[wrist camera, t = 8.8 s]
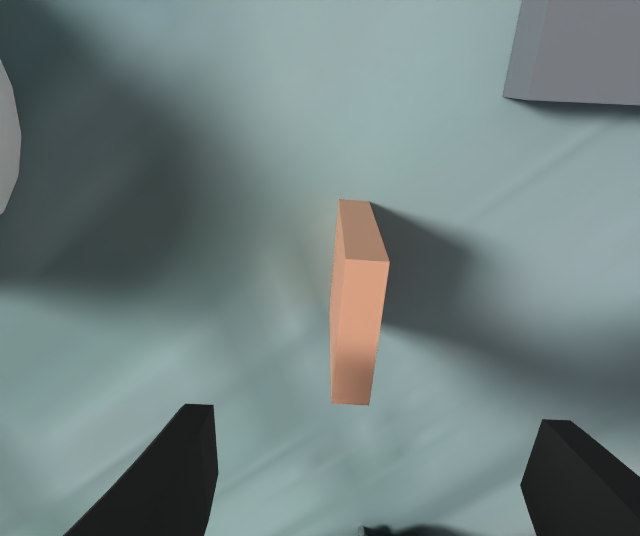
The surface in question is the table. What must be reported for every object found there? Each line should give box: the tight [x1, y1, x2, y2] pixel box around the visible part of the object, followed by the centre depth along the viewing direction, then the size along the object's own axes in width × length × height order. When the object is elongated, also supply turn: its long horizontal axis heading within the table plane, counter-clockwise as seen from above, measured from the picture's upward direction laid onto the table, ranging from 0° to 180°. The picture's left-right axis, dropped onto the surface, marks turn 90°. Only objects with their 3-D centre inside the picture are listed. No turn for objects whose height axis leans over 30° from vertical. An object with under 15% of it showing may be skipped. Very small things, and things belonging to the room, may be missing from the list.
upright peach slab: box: [330, 199, 390, 405], centre depth 15 cm, size 1×5×6 cm, turn 176°
